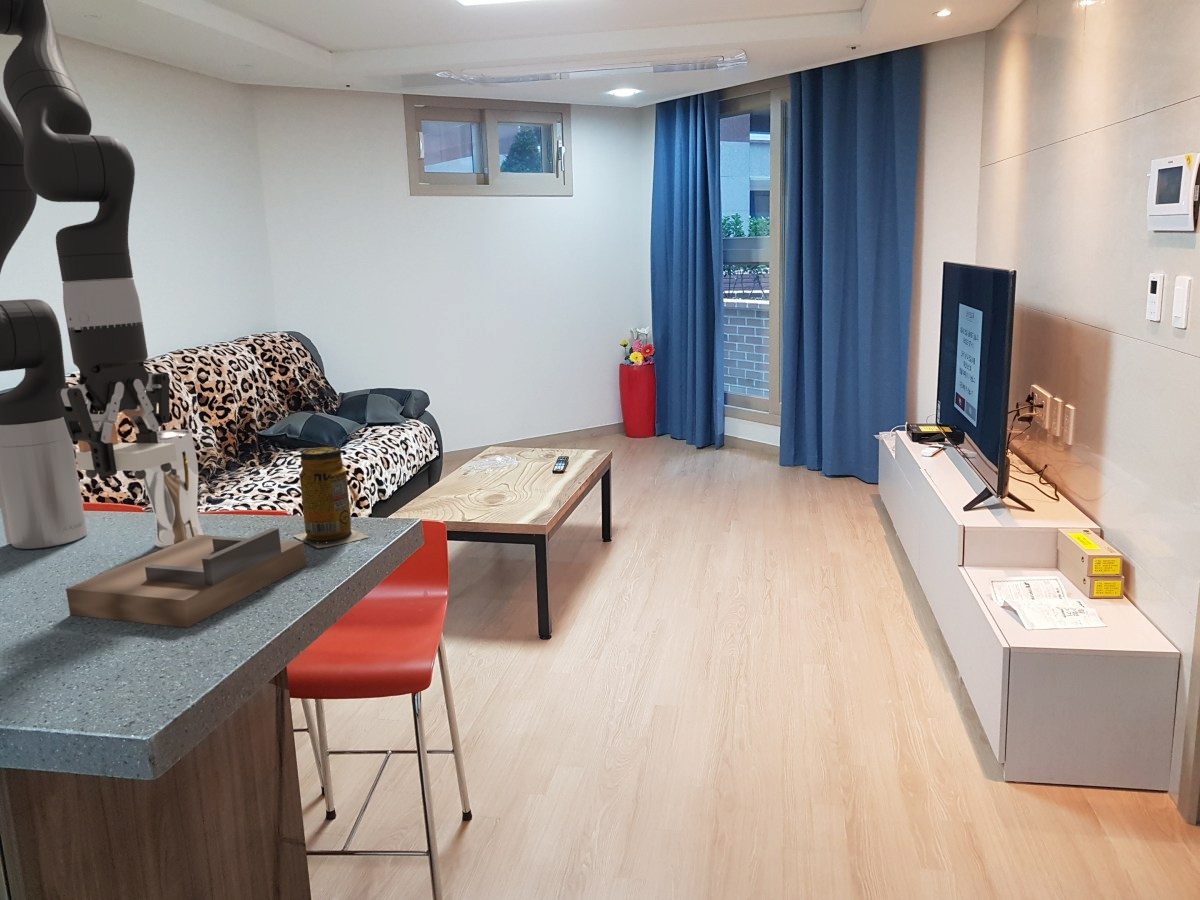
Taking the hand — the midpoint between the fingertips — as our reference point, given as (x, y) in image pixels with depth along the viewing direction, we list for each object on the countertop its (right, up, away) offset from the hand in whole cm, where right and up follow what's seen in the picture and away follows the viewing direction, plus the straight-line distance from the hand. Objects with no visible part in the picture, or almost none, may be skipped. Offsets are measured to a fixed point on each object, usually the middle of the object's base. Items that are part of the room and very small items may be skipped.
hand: (129, 468), depth 108 cm
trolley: (0, -1, 0) cm, 1 cm away
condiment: (+18, -10, +19) cm, 28 cm away
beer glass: (-3, -11, +20) cm, 23 cm away
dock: (+7, -14, +1) cm, 16 cm away
